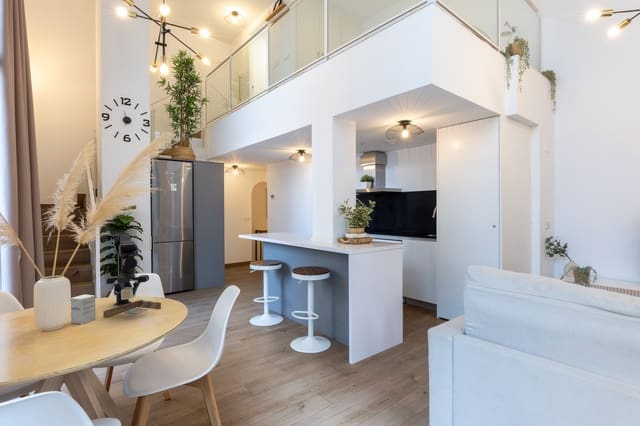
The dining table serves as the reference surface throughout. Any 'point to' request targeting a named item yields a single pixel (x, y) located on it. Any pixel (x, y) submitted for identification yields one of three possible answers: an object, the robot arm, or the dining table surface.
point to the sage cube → (127, 293)
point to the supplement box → (82, 309)
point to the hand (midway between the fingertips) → (128, 295)
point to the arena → (132, 307)
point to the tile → (136, 311)
